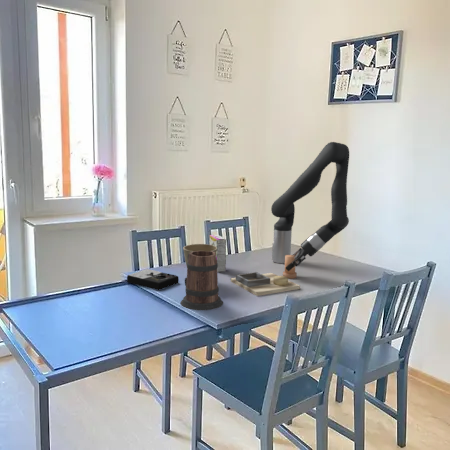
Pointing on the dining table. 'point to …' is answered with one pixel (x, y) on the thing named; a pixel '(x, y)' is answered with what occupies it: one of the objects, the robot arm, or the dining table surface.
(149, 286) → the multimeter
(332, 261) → the dining table surface
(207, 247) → the plant pot
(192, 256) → the tankard
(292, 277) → the orange flanged cylinder
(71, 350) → the dining table surface
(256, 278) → the carrier plate
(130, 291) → the dining table surface
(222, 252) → the candy bar box
